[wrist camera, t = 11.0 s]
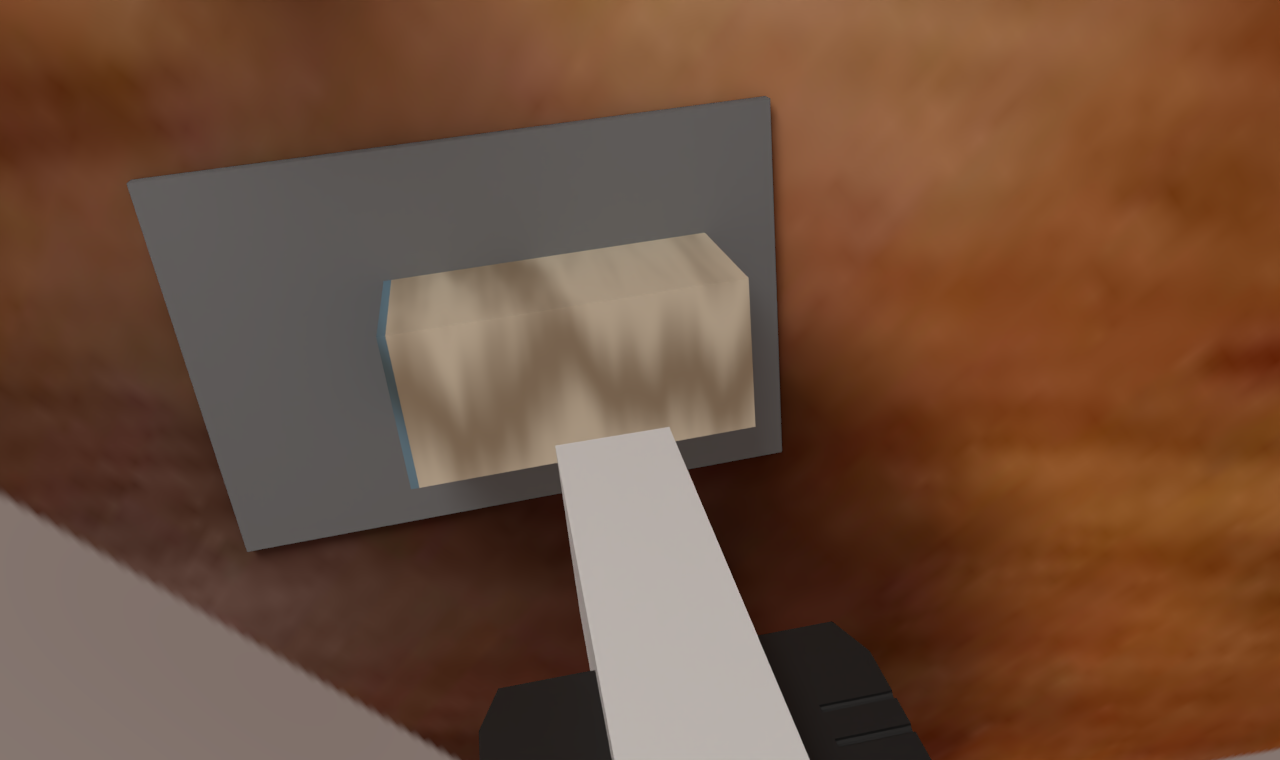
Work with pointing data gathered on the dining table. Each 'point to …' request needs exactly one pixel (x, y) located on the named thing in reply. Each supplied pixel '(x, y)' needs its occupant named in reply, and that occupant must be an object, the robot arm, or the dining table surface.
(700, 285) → the beech block
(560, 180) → the rubber mat
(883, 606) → the dining table surface
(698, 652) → the robot arm
